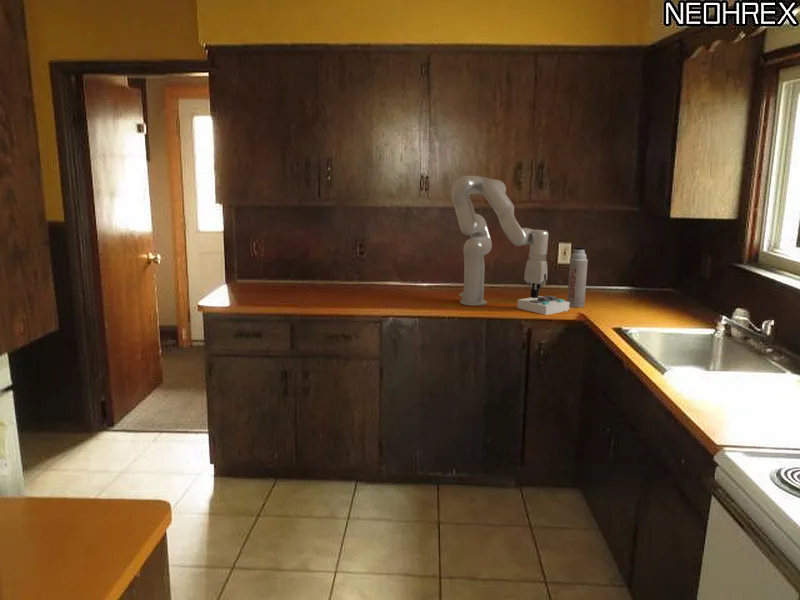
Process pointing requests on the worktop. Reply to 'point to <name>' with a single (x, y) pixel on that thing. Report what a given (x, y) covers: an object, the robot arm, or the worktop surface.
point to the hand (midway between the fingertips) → (534, 297)
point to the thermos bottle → (577, 278)
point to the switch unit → (543, 306)
